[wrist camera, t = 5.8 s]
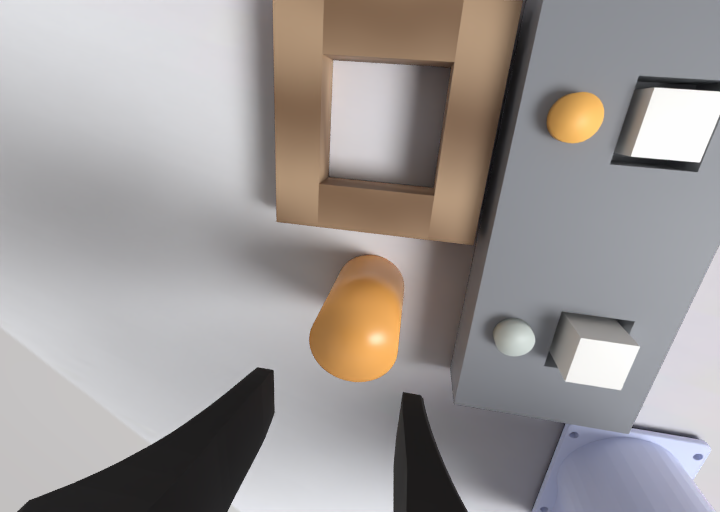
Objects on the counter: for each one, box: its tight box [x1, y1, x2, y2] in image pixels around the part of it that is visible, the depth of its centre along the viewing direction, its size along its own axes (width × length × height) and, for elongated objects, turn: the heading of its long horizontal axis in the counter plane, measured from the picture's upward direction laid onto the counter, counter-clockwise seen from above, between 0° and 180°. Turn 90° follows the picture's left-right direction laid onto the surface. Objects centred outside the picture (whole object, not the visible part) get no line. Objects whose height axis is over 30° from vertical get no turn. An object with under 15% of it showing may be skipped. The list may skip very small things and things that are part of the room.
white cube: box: [614, 87, 720, 162], centre depth 14 cm, size 2×2×2 cm
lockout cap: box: [309, 255, 404, 382], centre depth 19 cm, size 4×4×6 cm
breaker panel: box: [450, 0, 720, 434], centre depth 17 cm, size 20×9×4 cm, turn 176°
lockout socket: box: [273, 0, 523, 245], centre depth 17 cm, size 10×10×2 cm
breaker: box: [549, 311, 640, 390], centre depth 17 cm, size 2×2×2 cm
